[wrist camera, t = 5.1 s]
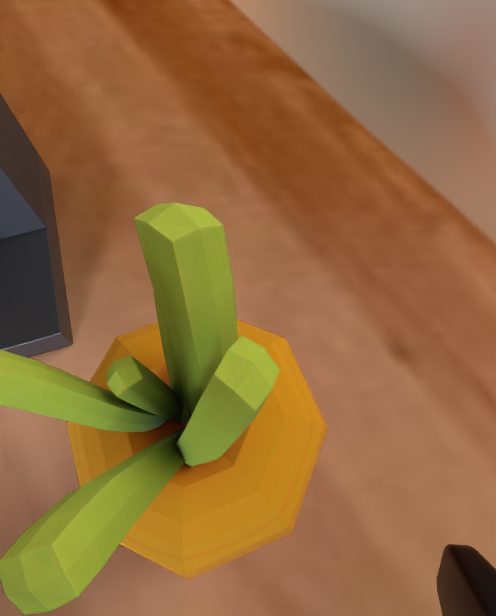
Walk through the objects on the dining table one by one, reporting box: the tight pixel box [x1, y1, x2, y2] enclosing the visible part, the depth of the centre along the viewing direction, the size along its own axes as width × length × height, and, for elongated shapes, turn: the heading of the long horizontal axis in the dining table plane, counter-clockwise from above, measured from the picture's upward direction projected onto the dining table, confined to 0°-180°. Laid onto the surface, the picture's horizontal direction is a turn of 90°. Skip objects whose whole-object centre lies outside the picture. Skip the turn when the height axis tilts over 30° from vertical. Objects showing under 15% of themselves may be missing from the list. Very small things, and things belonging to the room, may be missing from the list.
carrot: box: [0, 203, 328, 615], centre depth 11 cm, size 5×5×15 cm
